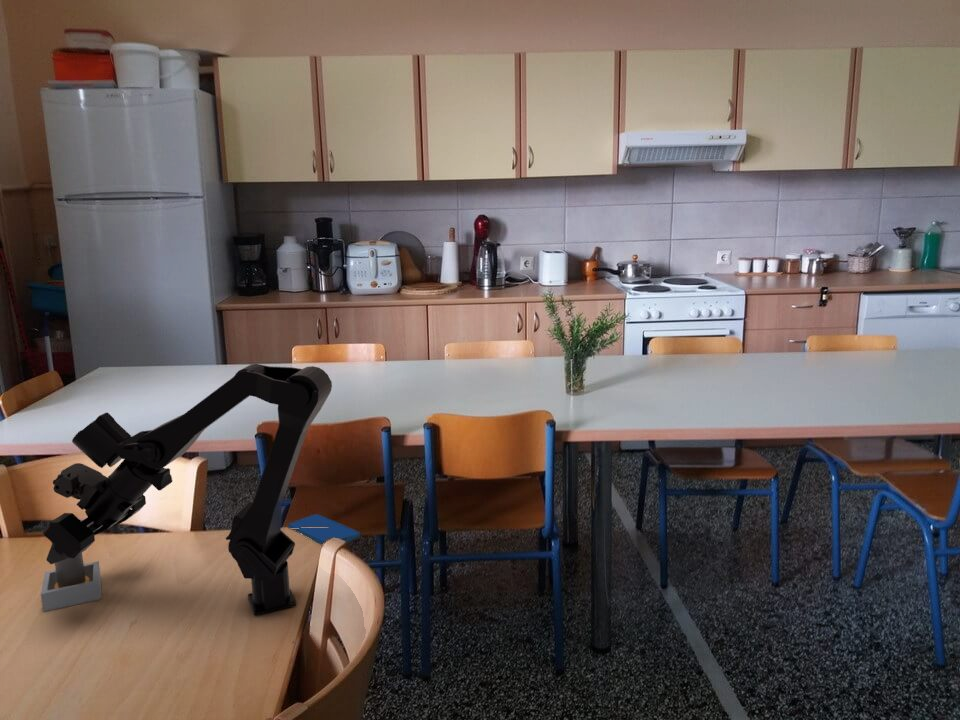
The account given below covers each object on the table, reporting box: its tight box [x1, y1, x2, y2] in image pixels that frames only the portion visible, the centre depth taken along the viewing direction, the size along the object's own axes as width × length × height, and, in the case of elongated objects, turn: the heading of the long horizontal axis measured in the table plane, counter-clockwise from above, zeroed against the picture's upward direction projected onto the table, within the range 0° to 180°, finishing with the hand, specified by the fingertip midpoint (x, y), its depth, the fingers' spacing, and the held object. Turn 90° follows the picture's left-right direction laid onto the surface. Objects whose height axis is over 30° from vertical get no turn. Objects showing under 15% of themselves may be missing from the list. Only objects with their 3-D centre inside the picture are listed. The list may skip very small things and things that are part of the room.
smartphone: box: [287, 513, 361, 546], centre depth 143 cm, size 7×1×15 cm
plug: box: [54, 552, 89, 589], centre depth 120 cm, size 5×5×12 cm
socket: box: [40, 560, 102, 612], centre depth 121 cm, size 8×8×3 cm
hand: (68, 548), depth 119 cm, fingers open, 9 cm apart
